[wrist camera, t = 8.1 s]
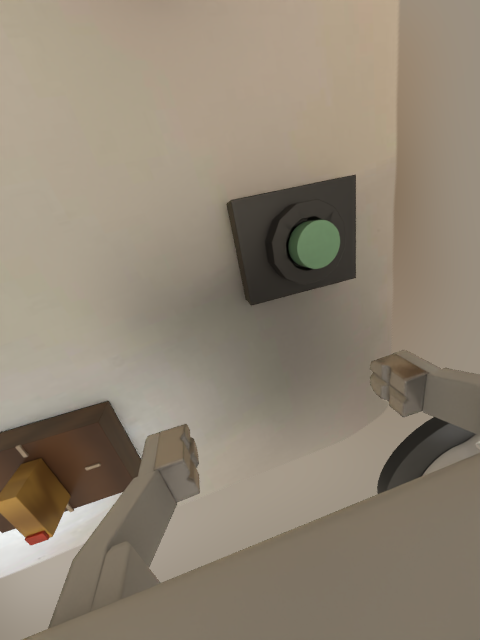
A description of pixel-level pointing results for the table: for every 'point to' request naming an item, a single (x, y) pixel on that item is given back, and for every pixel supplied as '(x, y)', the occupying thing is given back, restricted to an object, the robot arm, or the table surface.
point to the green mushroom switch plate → (274, 233)
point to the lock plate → (74, 454)
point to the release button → (314, 244)
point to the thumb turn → (34, 501)
